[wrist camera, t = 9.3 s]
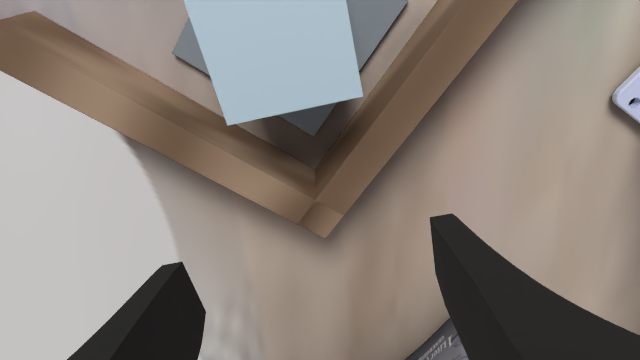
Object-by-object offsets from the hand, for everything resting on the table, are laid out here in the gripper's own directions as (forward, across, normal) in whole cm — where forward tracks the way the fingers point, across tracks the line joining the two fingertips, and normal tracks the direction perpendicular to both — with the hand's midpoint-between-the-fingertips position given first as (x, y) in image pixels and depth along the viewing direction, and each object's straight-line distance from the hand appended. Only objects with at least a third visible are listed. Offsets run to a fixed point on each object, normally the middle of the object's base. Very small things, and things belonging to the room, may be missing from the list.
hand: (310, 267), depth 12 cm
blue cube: (+10, 0, -5) cm, 11 cm away
